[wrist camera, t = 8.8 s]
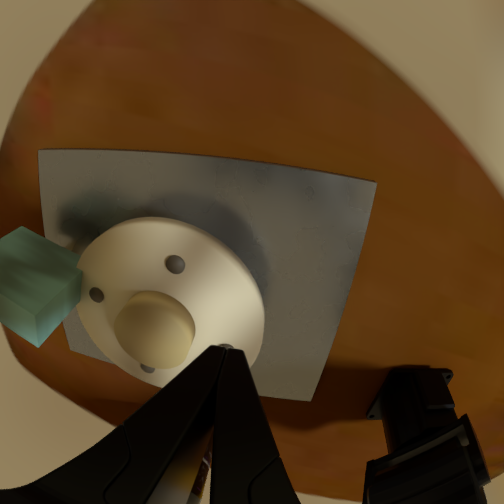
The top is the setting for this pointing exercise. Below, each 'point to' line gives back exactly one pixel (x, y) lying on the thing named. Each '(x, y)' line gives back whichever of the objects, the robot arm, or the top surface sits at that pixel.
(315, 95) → the top surface
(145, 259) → the flange
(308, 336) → the base
